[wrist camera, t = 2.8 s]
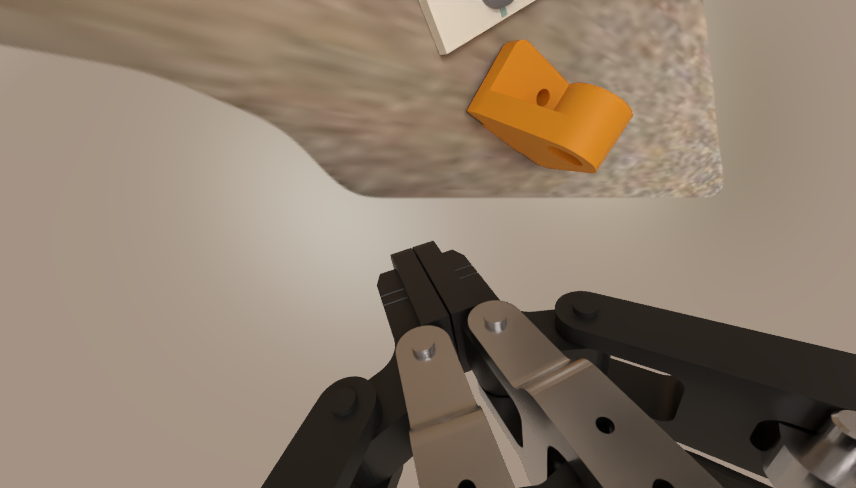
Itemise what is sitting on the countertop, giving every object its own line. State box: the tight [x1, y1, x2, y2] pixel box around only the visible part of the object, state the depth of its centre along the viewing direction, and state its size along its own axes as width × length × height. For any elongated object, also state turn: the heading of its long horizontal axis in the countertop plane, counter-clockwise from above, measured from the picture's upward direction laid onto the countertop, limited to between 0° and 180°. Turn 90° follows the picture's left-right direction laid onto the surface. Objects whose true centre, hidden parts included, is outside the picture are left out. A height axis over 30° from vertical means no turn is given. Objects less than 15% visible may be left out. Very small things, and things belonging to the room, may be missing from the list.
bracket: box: [467, 40, 633, 173], centre depth 30 cm, size 11×7×12 cm
